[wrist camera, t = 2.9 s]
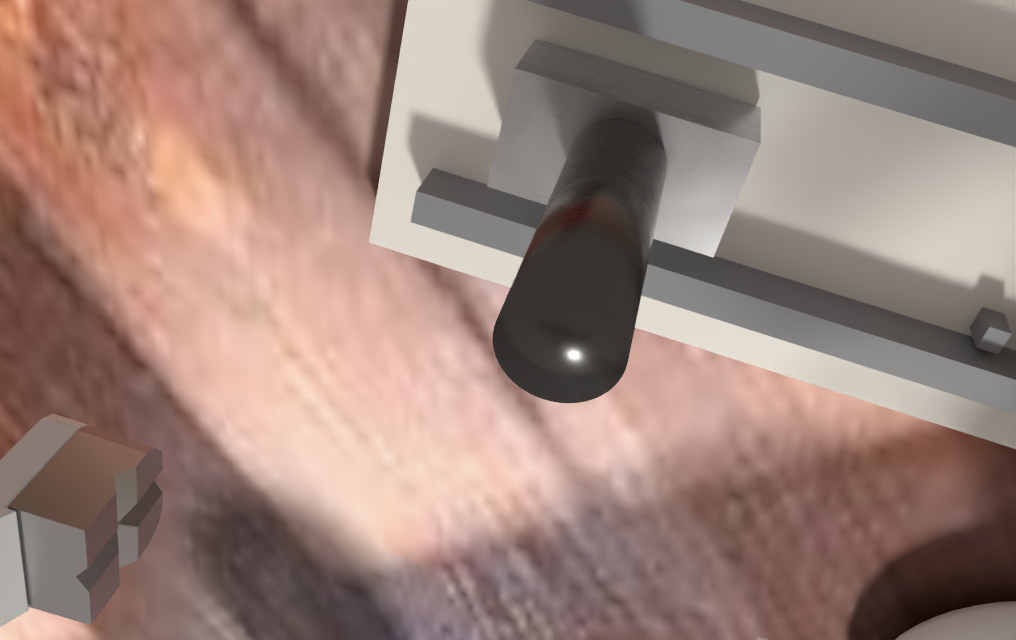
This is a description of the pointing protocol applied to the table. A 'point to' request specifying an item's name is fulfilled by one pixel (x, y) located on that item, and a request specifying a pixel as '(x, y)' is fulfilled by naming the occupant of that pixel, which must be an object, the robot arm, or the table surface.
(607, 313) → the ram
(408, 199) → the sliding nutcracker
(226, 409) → the table surface
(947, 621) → the flower in vase
